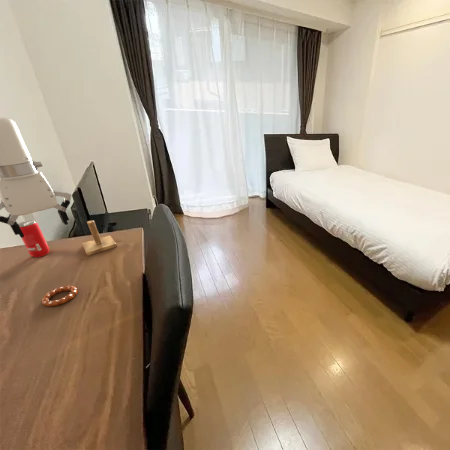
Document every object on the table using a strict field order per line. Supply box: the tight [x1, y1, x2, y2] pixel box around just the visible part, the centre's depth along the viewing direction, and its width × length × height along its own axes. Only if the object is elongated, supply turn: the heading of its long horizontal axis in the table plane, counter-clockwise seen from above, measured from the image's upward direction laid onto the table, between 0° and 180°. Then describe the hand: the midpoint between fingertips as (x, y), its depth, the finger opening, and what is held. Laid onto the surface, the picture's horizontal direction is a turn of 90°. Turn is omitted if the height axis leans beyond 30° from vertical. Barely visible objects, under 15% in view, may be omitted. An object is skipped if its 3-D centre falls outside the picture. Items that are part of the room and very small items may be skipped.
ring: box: [41, 285, 79, 307], centre depth 75 cm, size 8×8×1 cm
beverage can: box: [18, 220, 50, 258], centre depth 93 cm, size 5×5×12 cm
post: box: [81, 220, 118, 256], centre depth 98 cm, size 9×9×10 cm
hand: (44, 229), depth 77 cm, fingers open, 9 cm apart
